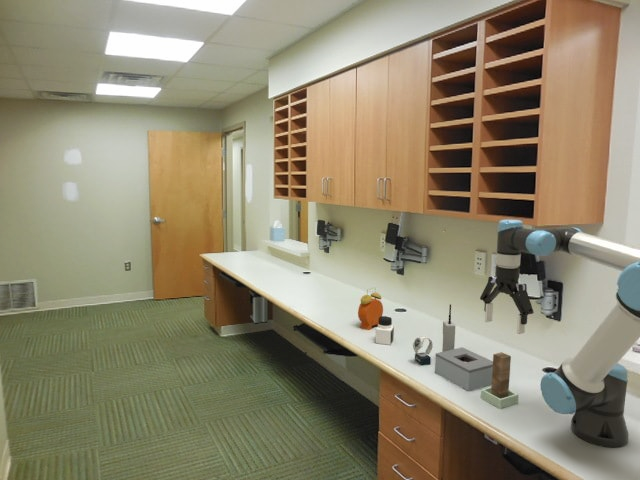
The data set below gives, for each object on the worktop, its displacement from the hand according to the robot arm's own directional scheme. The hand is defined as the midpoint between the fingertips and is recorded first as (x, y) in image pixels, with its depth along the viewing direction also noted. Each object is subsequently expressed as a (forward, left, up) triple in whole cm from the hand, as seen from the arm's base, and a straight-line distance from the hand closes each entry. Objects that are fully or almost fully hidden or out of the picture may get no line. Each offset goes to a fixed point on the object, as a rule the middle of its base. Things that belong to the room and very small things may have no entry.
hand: (504, 327), depth 162 cm
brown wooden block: (0, 0, -26) cm, 26 cm away
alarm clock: (+86, -3, -27) cm, 90 cm away
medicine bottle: (+65, +3, -27) cm, 70 cm away
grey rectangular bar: (+34, -7, -27) cm, 44 cm away
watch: (+38, +3, -27) cm, 47 cm away
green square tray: (0, 0, -27) cm, 27 cm away
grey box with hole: (+19, -2, -27) cm, 33 cm away
